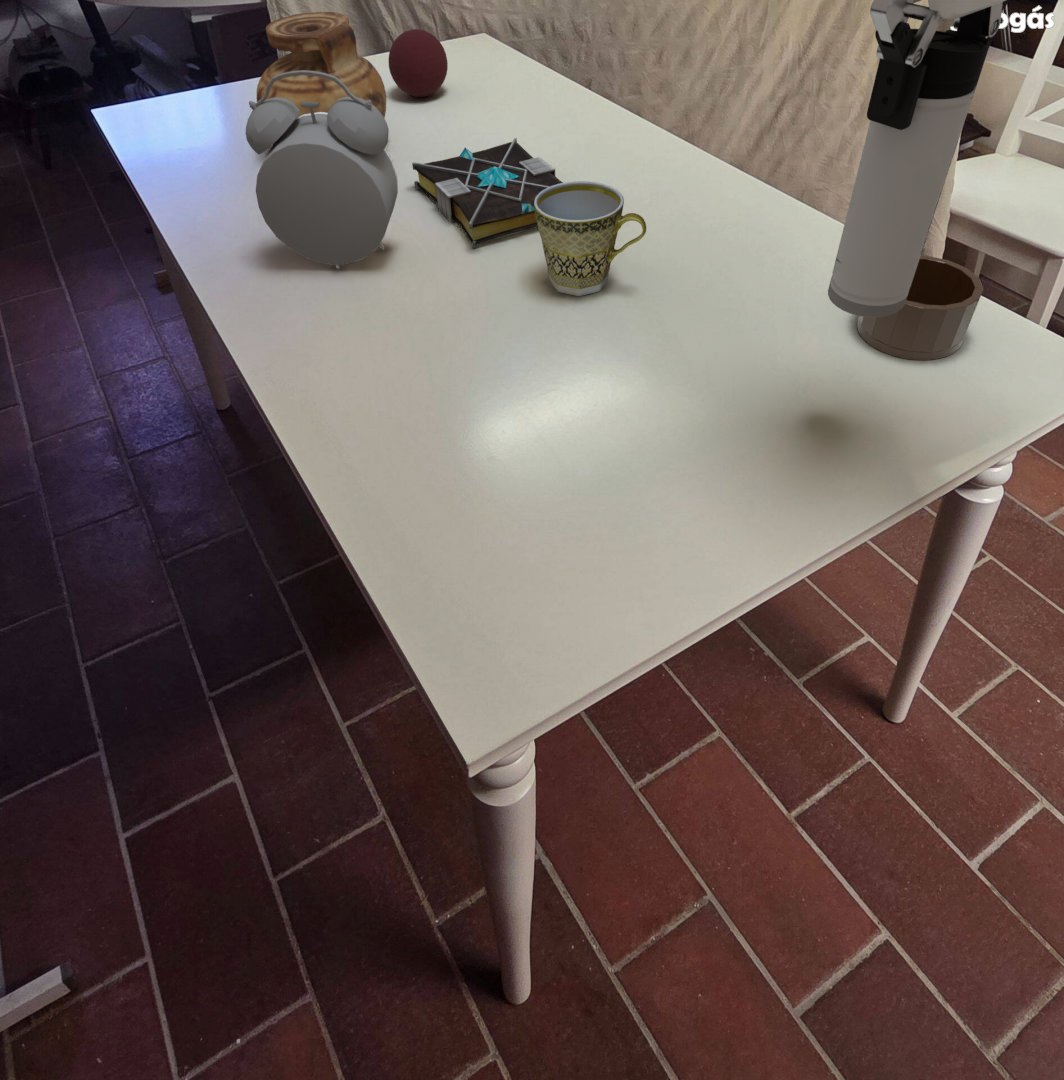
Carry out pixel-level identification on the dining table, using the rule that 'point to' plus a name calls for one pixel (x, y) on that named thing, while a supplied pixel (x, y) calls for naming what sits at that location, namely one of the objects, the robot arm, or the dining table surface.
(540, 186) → the book
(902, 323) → the holder
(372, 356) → the dining table surface
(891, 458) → the dining table surface
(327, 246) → the alarm clock
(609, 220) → the ceramic cup
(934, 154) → the travel mug
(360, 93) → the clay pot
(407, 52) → the decorative ball
